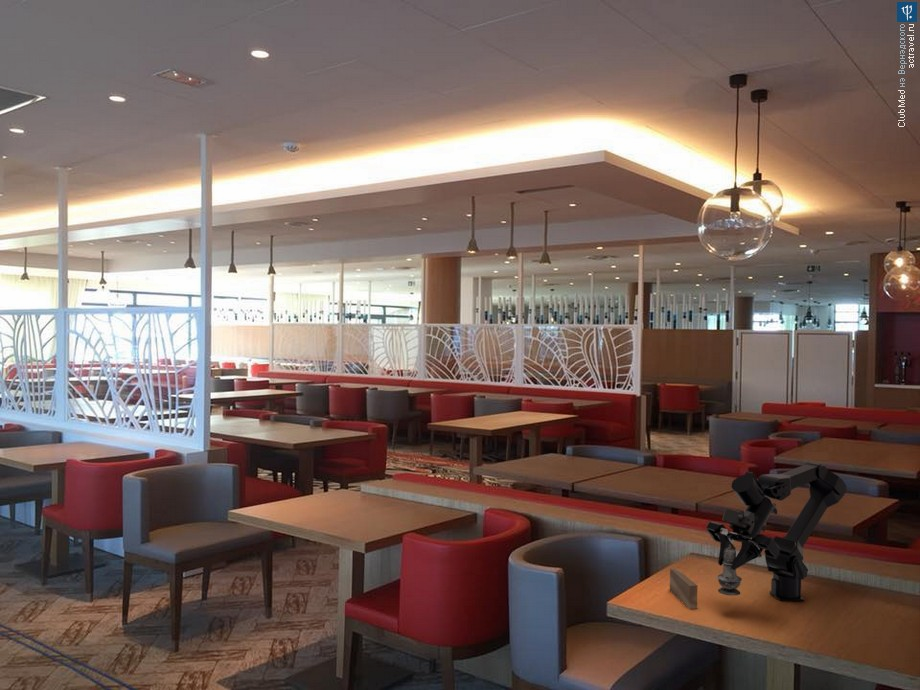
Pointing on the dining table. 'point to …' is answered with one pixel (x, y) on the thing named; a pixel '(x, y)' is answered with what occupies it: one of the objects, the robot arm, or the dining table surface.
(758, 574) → the dining table surface
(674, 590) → the walnut board
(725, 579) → the salt shaker
